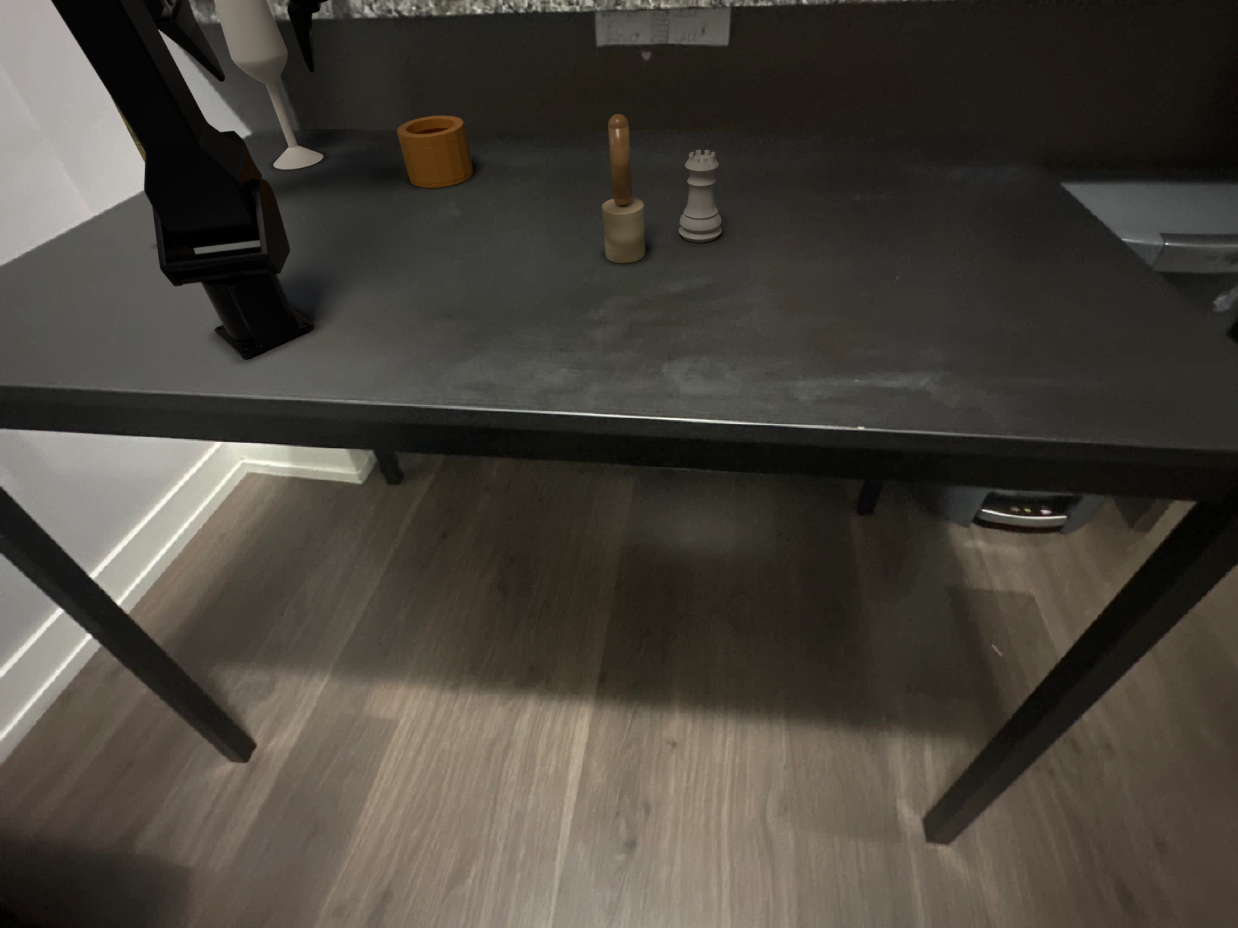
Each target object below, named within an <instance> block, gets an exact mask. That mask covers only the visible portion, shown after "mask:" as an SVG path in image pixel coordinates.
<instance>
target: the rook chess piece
mask: <svg viewBox="0 0 1238 928" xmlns="http://www.w3.org/2000/svg"><path fill="white" fill-rule="evenodd" d="M719 166H720V163H719V162H718V160H717V158H716V152H715V151H711V150H709V149H705V150H704V154H702V150H701V149H696V150H695V152H694V151H691V152H689V155H688V159H687V161H686V162H685V164H684V167H685V168H686V170H687V171H688V173H689V176H688V178H687V179H686V182H687V184H688V195H687V204H686V207H685V208H684V209H683V214H681V216H680V219H679V225H680V227H679V229H678V233H679V234H680V236H681V237H682V238H683V239H684V240H686V241H687V242H691V243H709V242H712V241H714V240H716V239H717V238H718V237H720V235H721V234H722V231H723V228H722V227H721V224H722V221H723V220H722V216H721V215H720V214H719V209H718V208H717V206H716V201H715V191H714V190H715V188H714V187H715V183H716V182H717V179H716V177H715V175H714V174H715V172H716V170H717V169H718V167H719Z"/></svg>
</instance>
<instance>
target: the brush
mask: <svg viewBox="0 0 1238 928" xmlns="http://www.w3.org/2000/svg"><path fill="white" fill-rule="evenodd" d="M607 123H608V124H607V126H608V127H607V130H608V142H609V143H608V144H609V145H608V146H609V158H610V176H611V187H612V188H611V191H612V198H611V199H608V200H605V202H604V203H603V204H602V205H601V211H602V212H601V214H602V215H601V216H602V224H603V225H602V226H603V238H604V241H603V242H604V254H605V258H606V259H607V260H608V261H609V262H612V263H616V264H632V263H635V262H638V261H640V260H642V259H643V258H644V257H645V255H646V229H645V227H646V225H645V204H644V201H642V200H641V199H640V198H637V197H633V193H632V192H633V189H632V168H631V147H630V145H631V144H630V124H629V121H628V119H627V117H626V116H625V115H623V114H621V113H615V114H613V115H612V116H611V117H610V118H609V120H608V122H607Z"/></svg>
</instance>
